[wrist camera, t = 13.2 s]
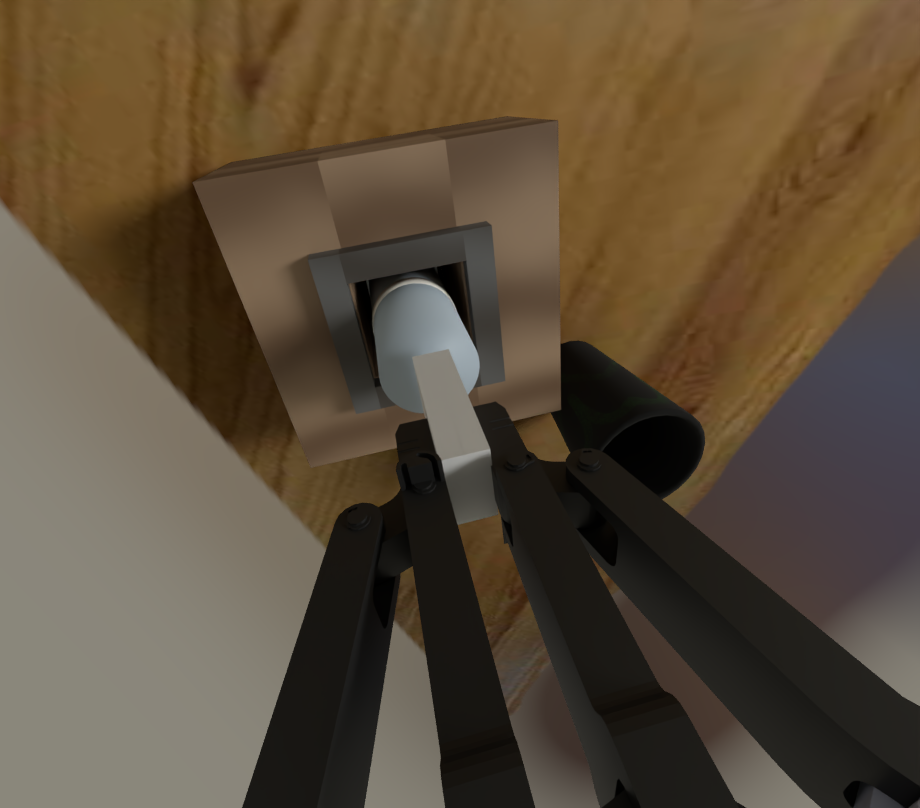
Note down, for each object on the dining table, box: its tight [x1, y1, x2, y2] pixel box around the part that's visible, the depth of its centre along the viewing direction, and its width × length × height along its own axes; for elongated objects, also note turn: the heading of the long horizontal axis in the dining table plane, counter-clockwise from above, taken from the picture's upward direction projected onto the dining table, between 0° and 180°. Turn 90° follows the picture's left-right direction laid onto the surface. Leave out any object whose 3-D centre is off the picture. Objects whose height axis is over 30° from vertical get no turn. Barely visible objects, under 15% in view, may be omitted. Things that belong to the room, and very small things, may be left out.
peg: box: [369, 267, 480, 413], centre depth 25 cm, size 4×4×12 cm
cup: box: [551, 341, 705, 499], centre depth 33 cm, size 8×8×12 cm
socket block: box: [193, 116, 561, 468], centre depth 28 cm, size 16×16×9 cm
